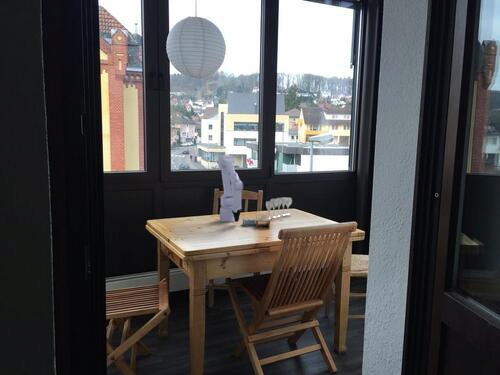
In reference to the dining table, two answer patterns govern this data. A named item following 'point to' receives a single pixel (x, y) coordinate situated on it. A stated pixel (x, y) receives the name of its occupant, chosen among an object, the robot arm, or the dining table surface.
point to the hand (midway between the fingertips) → (236, 221)
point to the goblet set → (278, 204)
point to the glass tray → (249, 222)
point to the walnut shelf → (262, 219)
